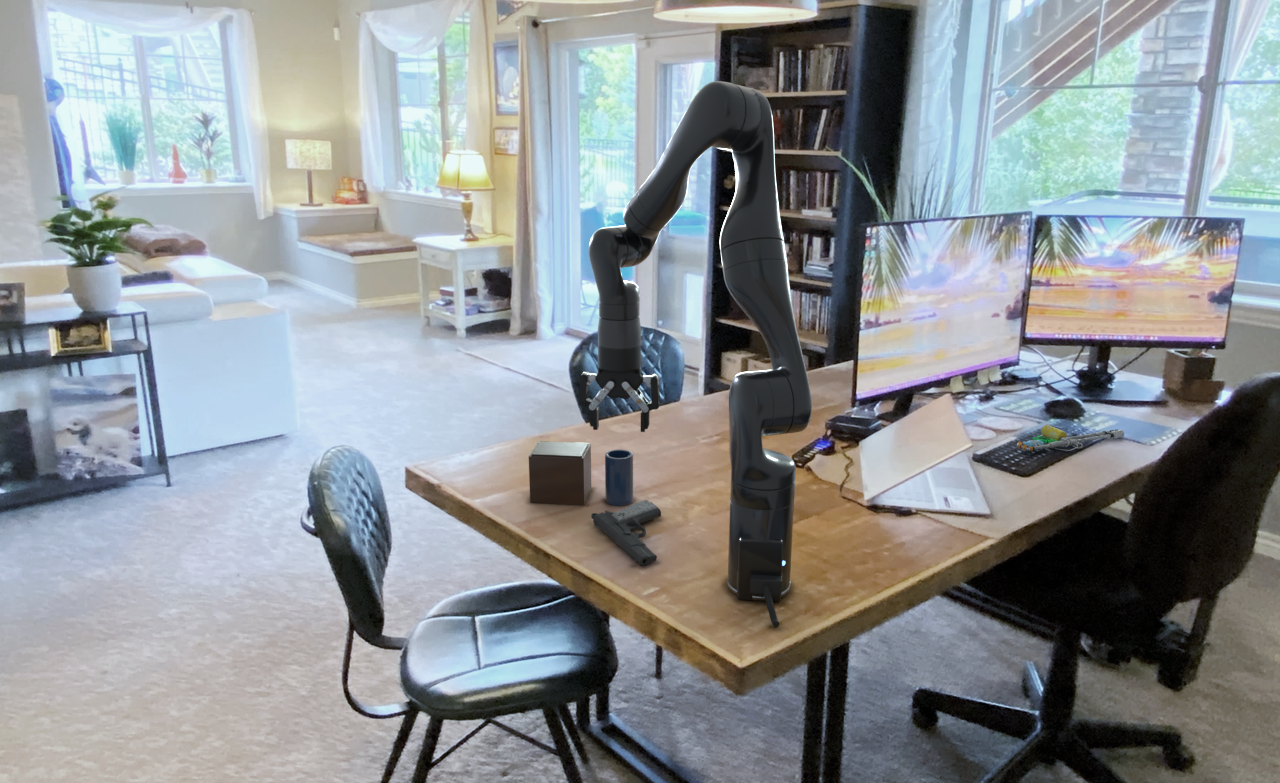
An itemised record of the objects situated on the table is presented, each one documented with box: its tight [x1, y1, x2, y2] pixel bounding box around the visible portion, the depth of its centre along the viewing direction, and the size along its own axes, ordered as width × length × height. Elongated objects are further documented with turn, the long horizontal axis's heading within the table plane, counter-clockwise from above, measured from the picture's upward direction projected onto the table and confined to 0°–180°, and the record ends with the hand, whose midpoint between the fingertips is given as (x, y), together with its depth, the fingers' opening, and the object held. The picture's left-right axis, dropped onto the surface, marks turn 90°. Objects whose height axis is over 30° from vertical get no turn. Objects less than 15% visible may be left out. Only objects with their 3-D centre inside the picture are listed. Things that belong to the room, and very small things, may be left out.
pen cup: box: [604, 448, 634, 507], centre depth 168 cm, size 5×5×9 cm
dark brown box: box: [528, 440, 592, 506], centre depth 170 cm, size 8×10×9 cm
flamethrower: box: [1016, 424, 1125, 452], centre depth 200 cm, size 29×3×10 cm
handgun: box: [590, 499, 662, 566], centre depth 154 cm, size 19×2×12 cm
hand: (619, 429), depth 166 cm, fingers open, 8 cm apart
